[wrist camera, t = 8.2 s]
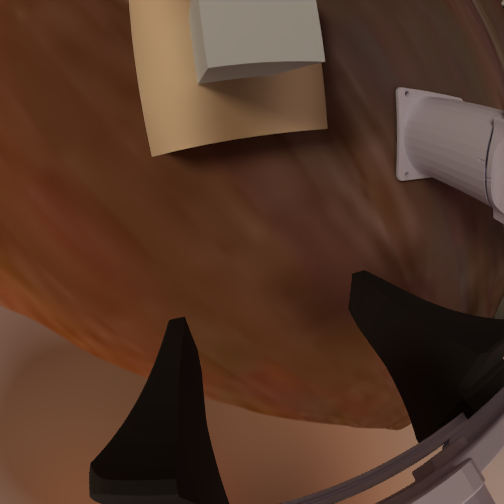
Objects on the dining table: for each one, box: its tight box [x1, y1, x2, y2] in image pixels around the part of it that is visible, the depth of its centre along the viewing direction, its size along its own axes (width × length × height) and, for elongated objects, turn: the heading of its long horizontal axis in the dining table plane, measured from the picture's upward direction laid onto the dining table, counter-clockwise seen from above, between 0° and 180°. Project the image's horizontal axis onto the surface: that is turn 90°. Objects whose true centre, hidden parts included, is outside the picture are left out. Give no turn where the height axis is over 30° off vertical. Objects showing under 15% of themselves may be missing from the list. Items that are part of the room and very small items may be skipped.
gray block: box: [189, 0, 325, 84], centre depth 9 cm, size 4×4×6 cm
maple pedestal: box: [129, 0, 328, 157], centre depth 13 cm, size 10×10×3 cm
